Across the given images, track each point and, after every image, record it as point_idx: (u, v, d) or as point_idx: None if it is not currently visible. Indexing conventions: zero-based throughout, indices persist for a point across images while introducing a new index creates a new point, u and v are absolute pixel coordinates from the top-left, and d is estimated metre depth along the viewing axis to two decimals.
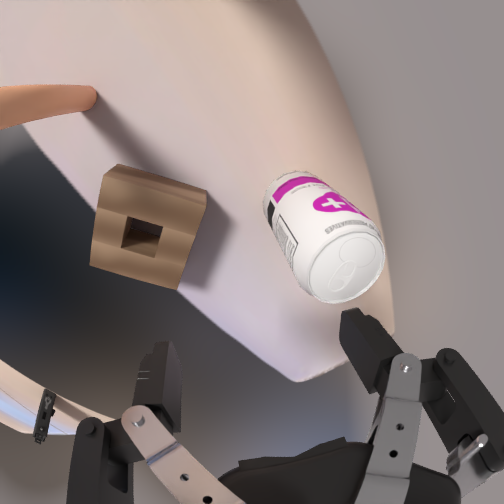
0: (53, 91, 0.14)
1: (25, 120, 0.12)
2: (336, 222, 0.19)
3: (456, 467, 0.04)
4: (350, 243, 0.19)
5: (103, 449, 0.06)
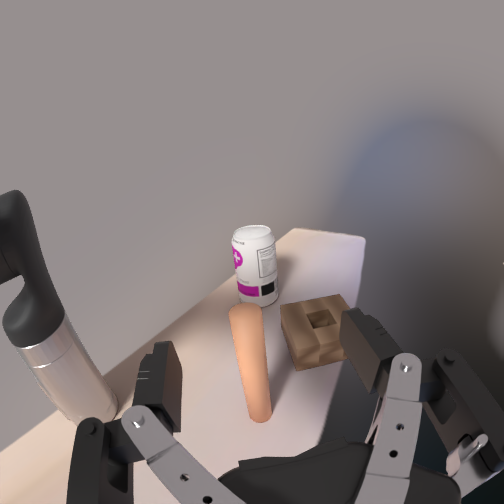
0: None
1: None
2: (239, 244, 0.49)
3: (456, 467, 0.04)
4: (242, 236, 0.50)
5: (103, 449, 0.06)
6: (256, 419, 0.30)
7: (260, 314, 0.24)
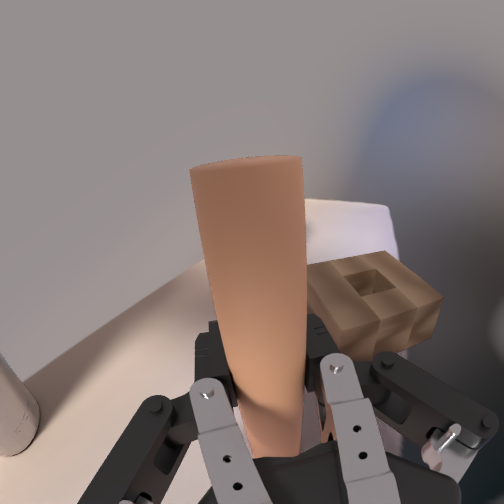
0: None
1: None
2: None
3: (437, 459, 0.05)
4: None
5: (162, 431, 0.07)
6: None
7: None
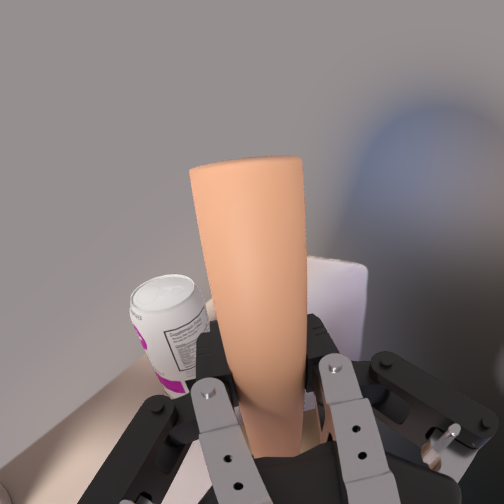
0: None
1: None
2: (134, 317, 0.24)
3: (436, 460, 0.05)
4: (142, 301, 0.25)
5: (163, 431, 0.07)
6: None
7: None
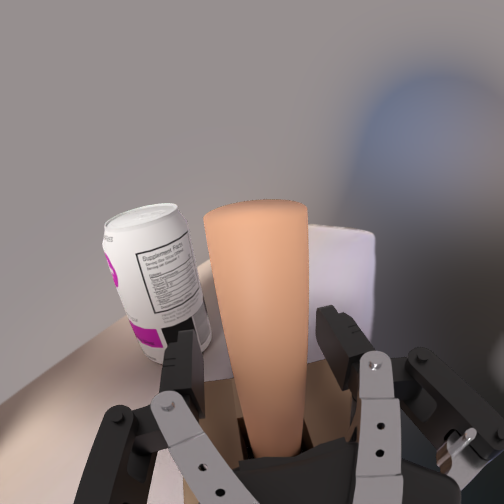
0: None
1: None
2: (106, 241, 0.20)
3: (448, 462, 0.05)
4: (117, 224, 0.21)
5: (128, 438, 0.06)
6: None
7: None
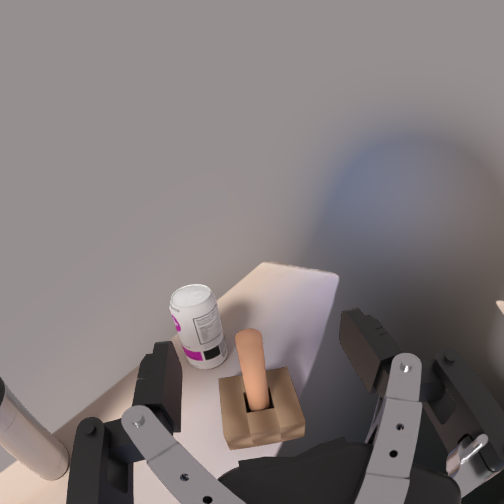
0: None
1: None
2: (174, 311, 0.43)
3: (456, 466, 0.04)
4: (178, 301, 0.44)
5: (103, 449, 0.06)
6: None
7: (260, 339, 0.29)
